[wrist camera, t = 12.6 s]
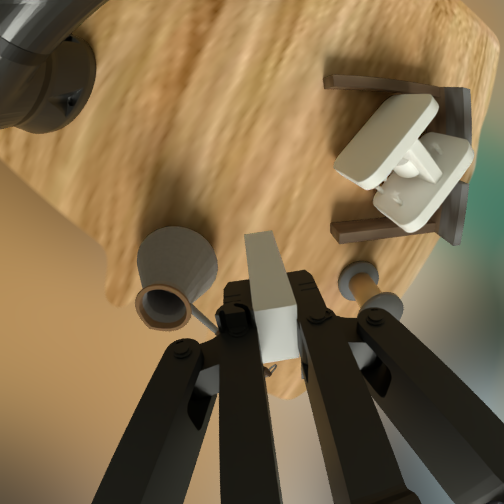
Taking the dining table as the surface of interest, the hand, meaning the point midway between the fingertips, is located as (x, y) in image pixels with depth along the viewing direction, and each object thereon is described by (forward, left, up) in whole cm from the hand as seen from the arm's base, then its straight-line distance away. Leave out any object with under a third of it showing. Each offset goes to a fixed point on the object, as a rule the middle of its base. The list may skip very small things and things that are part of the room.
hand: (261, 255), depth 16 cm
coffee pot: (+14, -7, -24) cm, 29 cm away
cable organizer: (-2, +20, -24) cm, 31 cm away
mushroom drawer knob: (+19, +17, -23) cm, 34 cm away
